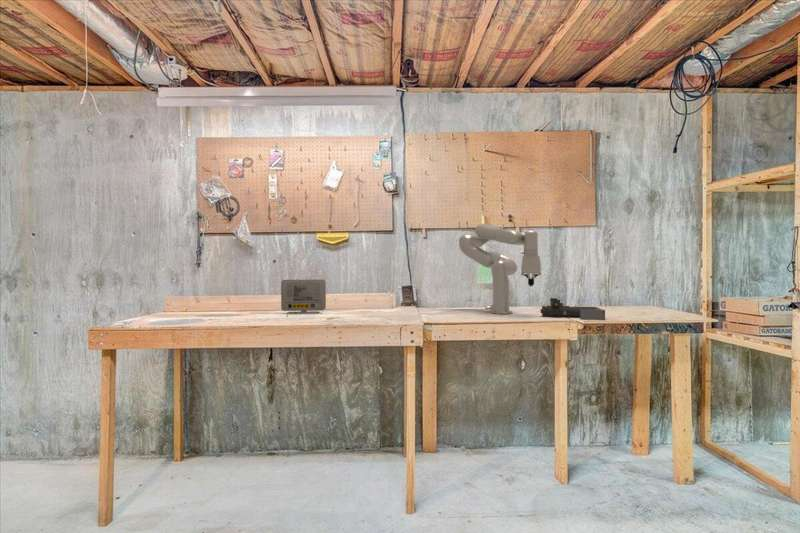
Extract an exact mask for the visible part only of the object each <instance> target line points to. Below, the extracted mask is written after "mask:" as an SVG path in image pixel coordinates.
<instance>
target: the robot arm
mask: <svg viewBox="0 0 800 533" xmlns="http://www.w3.org/2000/svg"><path fill="white" fill-rule="evenodd" d="M474 233H475V234H473V233H467V234H466V233H465V234H463V235H461V236H460V237H459V240H458V244H459V245H458V246H459V248H460V251H461V252H462V253H463V255H465V256H466V257H468V258H470V259H471V260H473V261H474V262H475V263H477V264H479V265H481V266H483V267H484V268H490V271H491V276H492V305H490V306H489V305H484V309H485V310H489V313H490V314H495V315H496V314H498V315H510V314H513V311H512V310H510V280H509V276H513V275H515V274H516V272H517V271H518V265H517V263H516V262H515V261H514V260H512V259H511V258H509V257H507V256H506V255H504V254H501V253H499V252H496V251H495V252H492V251H487V250H485V249H482V248H481V247H482V246H484V245H485V244H486V243H488V242H490V240H491V241H495V242H498V243H503V244H507V245H515V246H517V245H518V246H523V250H522V251H520V254H522V257H521V265H520V266H521V269H520V271H521V273H520V276H523V277H525V278H526V279H527V284H528V286H529V287H534V285H535V279H536V277H539V276H541V275H542V267H541V265H542V264H541V257H540V255H538V254H539V250H538V249H539V248H538V247H539V246H538V243H539V242H538V240H539V239H538V238H539V237H538V232H537V231H536V230H526V231H516V230H515V231H514V230H508V229H503V228H502V227H500V226H496V225H492V224H487V223H486V224H485V223H480V224H478V225H476V227H475V228H474ZM530 274H531V275H532V276H531V275H530Z"/></svg>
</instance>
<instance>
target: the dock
mask: <svg viewBox="0 0 800 533" xmlns="http://www.w3.org/2000/svg"><path fill="white" fill-rule="evenodd" d="M573 307H579V306H576V305H575V306H573ZM583 307H584V308H585V310H580V317H579V319H580V320H590V321H591V320H593V321H594V320H595V321H596V320H599V321H605V320H606V310H605V309H603V308H601V307H598V306H583Z"/></svg>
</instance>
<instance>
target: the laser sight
mask: <svg viewBox="0 0 800 533" xmlns="http://www.w3.org/2000/svg"><path fill="white" fill-rule="evenodd" d="M549 299H550V302H549V304H550V305H542V306H541V308H540V314H541V316H542V317H548V318H580V310H585V308H584V307H585V306H578V307H574V306H569V305H564V303H563V302H561V299H558V298H556V297H555V298H554V297H553V298H551V297H550V298H549Z"/></svg>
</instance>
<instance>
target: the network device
mask: <svg viewBox="0 0 800 533" xmlns="http://www.w3.org/2000/svg"><path fill="white" fill-rule="evenodd" d="M326 284H327V281H326V280H325V279H282V280H281V282H280V295H281V296H280V304H281V305H280V307H281V308H280V309H281V311H284V312H286V315H319V314H321V311H325V310H326V307H327V306H326V305H327V302H326V301H327V298H326V296H327V294H326V293H327V292H326V291H327V288H326V287H327V285H326ZM287 311H288V312H287Z"/></svg>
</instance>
